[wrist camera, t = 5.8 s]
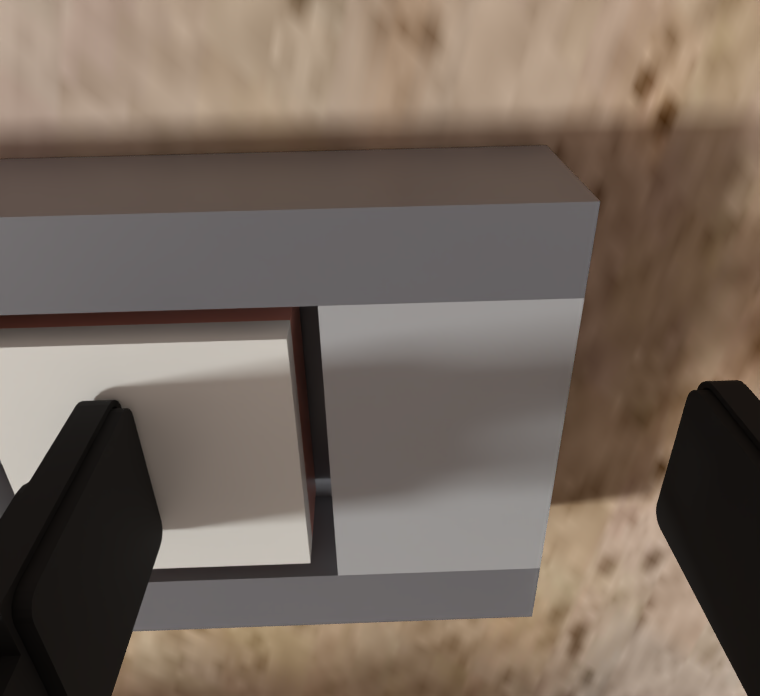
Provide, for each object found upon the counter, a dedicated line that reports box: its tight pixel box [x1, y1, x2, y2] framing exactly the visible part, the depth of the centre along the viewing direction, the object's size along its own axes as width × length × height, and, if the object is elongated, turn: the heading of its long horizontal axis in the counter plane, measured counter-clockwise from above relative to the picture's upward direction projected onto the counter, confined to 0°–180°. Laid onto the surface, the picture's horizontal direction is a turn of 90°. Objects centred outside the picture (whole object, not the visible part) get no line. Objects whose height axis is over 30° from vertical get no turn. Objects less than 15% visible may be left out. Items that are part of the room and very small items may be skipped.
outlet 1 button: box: [0, 307, 316, 569], centre depth 12 cm, size 5×5×2 cm
